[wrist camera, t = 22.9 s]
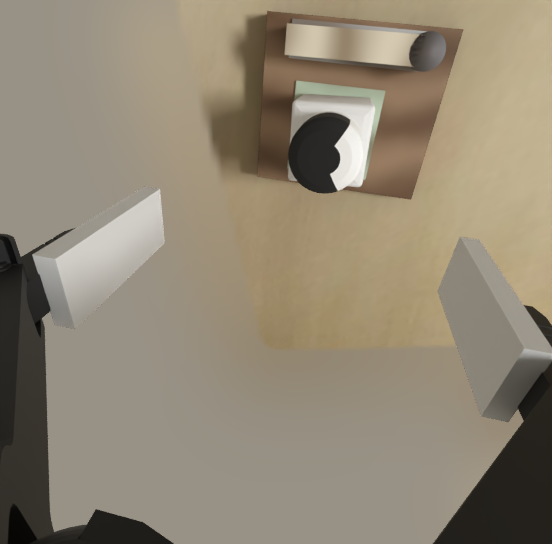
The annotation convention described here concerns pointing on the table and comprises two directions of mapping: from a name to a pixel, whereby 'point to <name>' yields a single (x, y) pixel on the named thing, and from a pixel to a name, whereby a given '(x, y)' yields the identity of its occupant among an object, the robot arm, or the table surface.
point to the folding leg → (366, 46)
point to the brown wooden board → (357, 83)
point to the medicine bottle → (329, 141)
